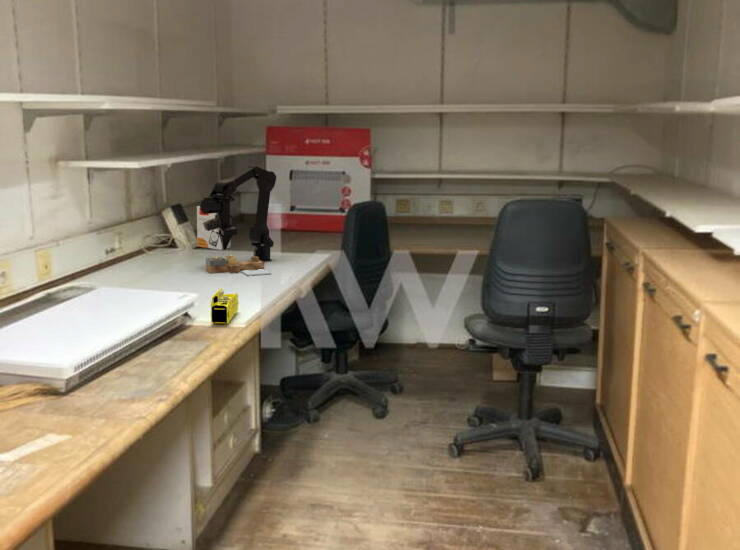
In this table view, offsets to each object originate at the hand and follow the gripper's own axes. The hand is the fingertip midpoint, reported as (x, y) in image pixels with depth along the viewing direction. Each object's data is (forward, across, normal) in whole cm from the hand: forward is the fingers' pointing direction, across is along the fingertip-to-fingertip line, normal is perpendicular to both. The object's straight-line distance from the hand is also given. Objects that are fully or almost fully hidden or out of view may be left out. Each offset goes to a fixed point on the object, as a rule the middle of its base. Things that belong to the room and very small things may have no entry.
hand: (224, 249), depth 293 cm
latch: (+4, +9, 0) cm, 10 cm away
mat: (+7, +18, +7) cm, 21 cm away
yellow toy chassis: (+8, +80, -26) cm, 84 cm away
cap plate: (+4, +8, -6) cm, 11 cm away
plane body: (+7, +9, +2) cm, 12 cm away
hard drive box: (+8, -49, +10) cm, 51 cm away
